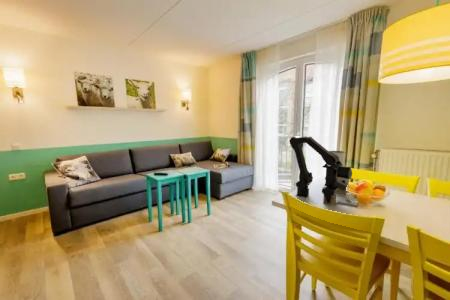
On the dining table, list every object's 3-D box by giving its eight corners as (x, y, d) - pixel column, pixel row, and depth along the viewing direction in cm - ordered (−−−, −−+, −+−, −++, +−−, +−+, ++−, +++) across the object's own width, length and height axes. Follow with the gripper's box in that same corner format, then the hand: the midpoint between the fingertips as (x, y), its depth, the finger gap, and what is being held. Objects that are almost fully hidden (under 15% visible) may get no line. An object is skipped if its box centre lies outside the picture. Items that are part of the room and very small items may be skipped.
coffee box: (332, 191, 146) (333, 169, 144) (333, 189, 151) (334, 167, 149) (347, 194, 141) (349, 170, 139) (348, 191, 146) (349, 168, 144)
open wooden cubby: (323, 202, 128) (323, 193, 127) (325, 199, 133) (325, 190, 132) (334, 205, 124) (334, 195, 123) (335, 201, 129) (336, 192, 128)
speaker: (325, 183, 165) (327, 149, 161) (339, 183, 164) (341, 149, 160) (330, 187, 155) (332, 152, 151) (345, 187, 154) (348, 152, 150)
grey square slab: (337, 203, 127) (337, 194, 126) (339, 197, 135) (340, 189, 134) (357, 207, 121) (358, 198, 120) (358, 201, 129) (359, 192, 128)
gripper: (344, 181, 114) (342, 209, 116) (348, 173, 129) (346, 198, 131) (322, 178, 120) (321, 204, 122) (328, 171, 135) (326, 195, 138)
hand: (329, 200), depth 128 cm, fingers open, 8 cm apart
